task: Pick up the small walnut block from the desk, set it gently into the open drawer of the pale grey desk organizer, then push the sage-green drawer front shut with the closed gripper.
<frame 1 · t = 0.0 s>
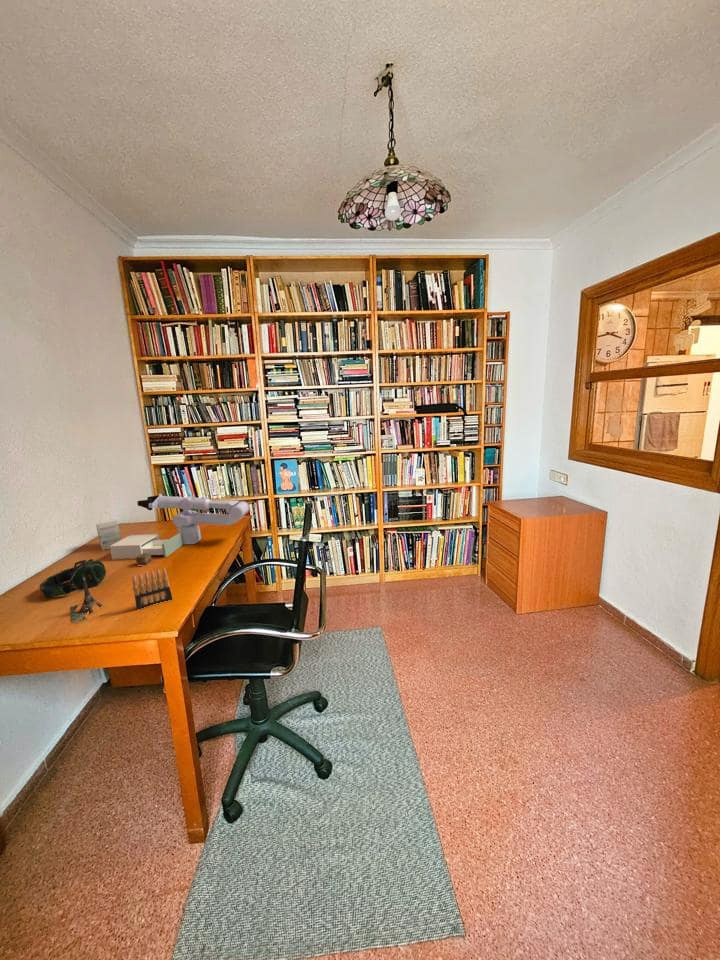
hand: (143, 501, 179), 22 cm above the table, tool horizontal, fingers open, 7 cm apart
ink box: (111, 546, 183), on the table
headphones: (76, 588, 140), on the table
drawer: (159, 545, 170), point 3 cm above the table, slide at 10.0 cm
organizer: (137, 552, 172), on the table
ammunition clip: (155, 604, 125), on the table
eiffel tower figurine: (89, 612, 123), on the table
walnut block: (144, 564, 158), on the table
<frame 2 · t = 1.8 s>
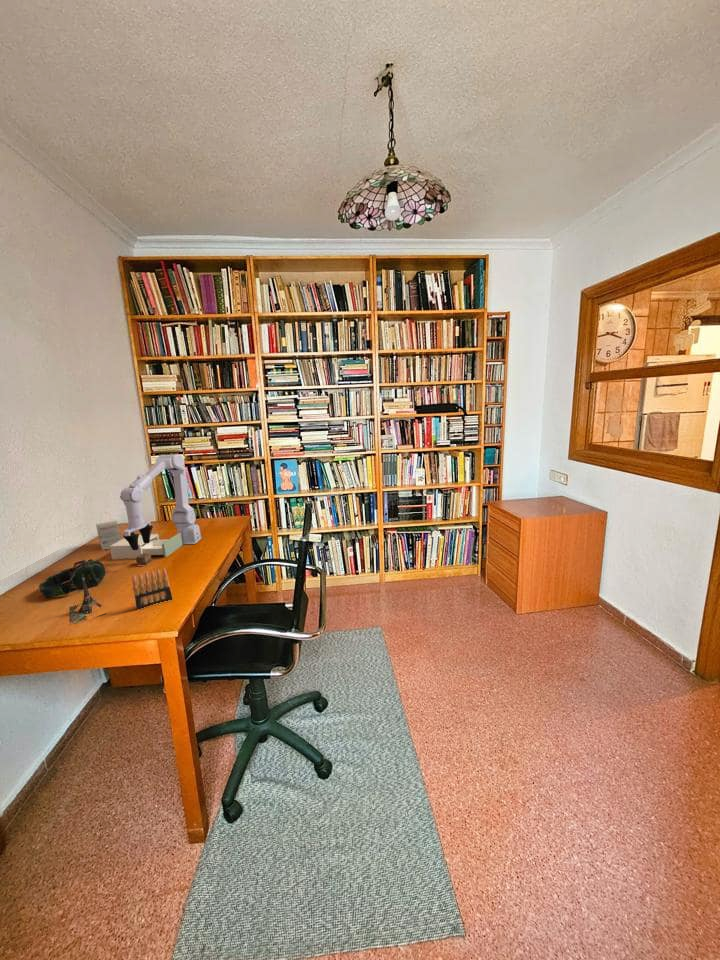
hand: (141, 546, 157), 8 cm above the table, tool pointing down, fingers open, 7 cm apart
nothing on the table moved.
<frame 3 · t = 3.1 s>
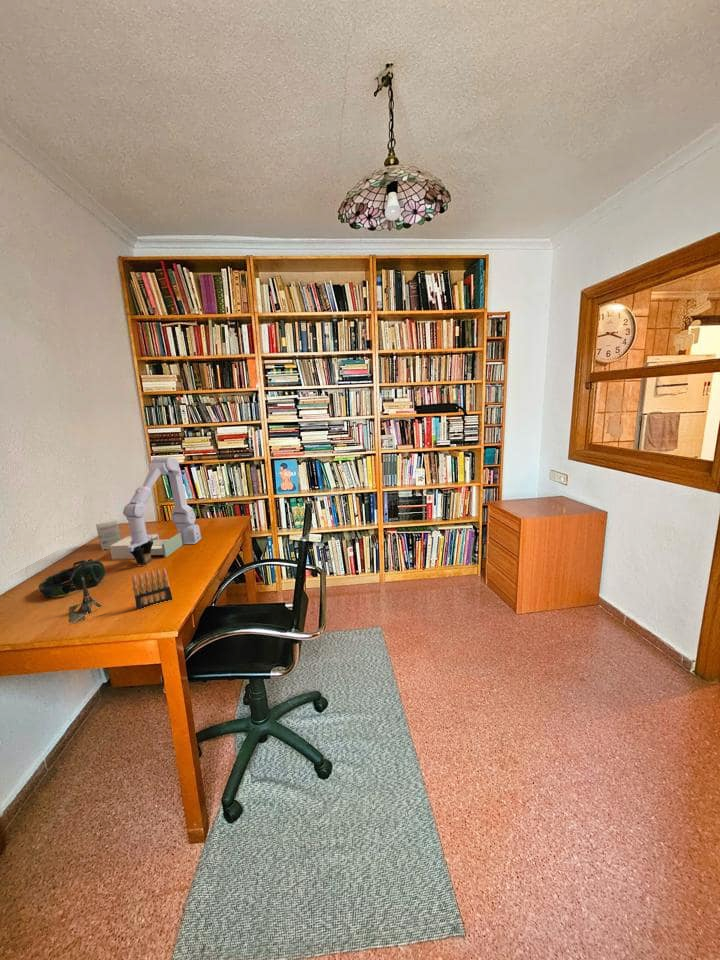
hand: (144, 560, 158), 1 cm above the table, tool pointing down, fingers closed on walnut block, 4 cm apart
walnut block: (144, 564, 158), on the table, touching gripper
everything else where it was.
when the fingers open (4 cm above the table, at t = 6.3 s): walnut block drops 2 cm, resting on drawer.
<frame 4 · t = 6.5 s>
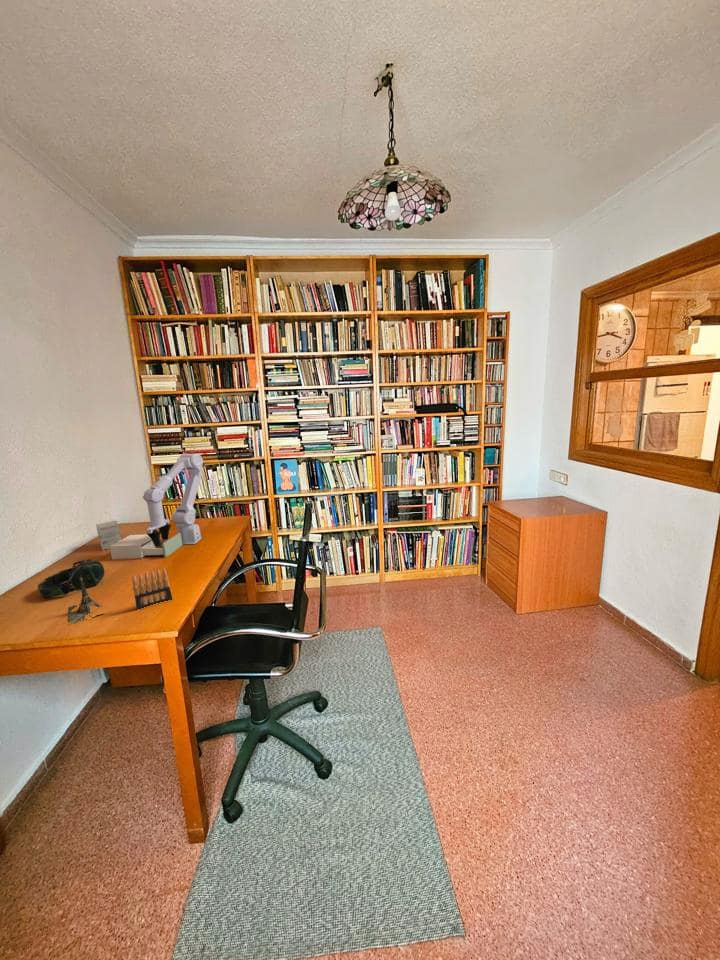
hand: (161, 542, 170), 4 cm above the table, tool pointing down, fingers open, 6 cm apart
drawer: (159, 545, 170), point 3 cm above the table, slide at 10.0 cm, touching walnut block
walnut block: (162, 549, 171), point 1 cm above the table, touching drawer
everything else where it was.
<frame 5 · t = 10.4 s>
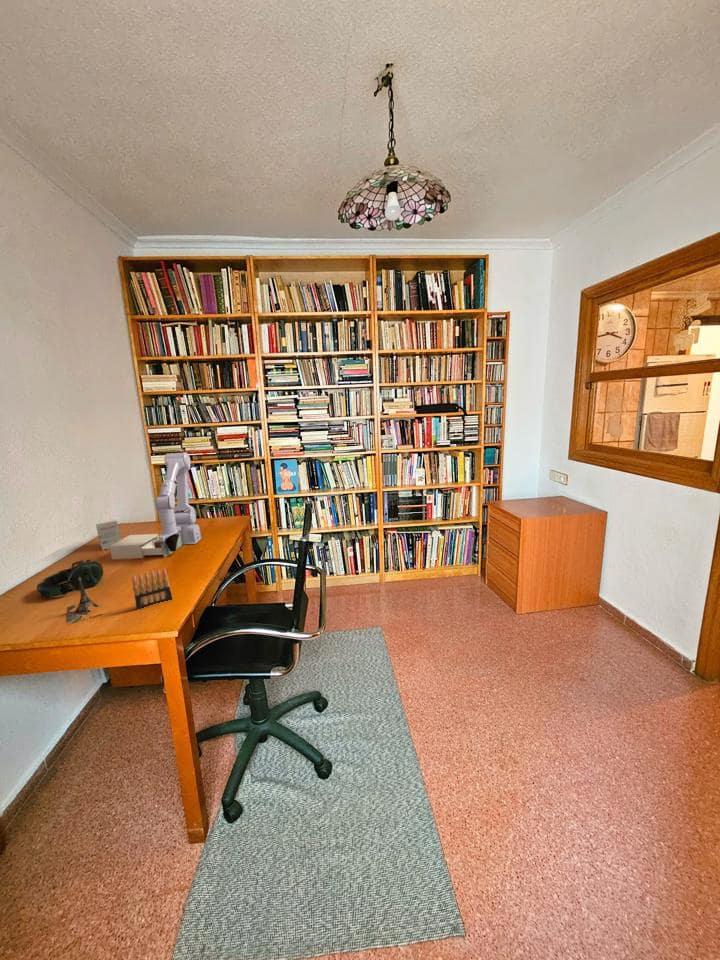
hand: (173, 550, 166), 2 cm above the table, tool pointing down, fingers closed, pressing on drawer
drawer: (158, 545, 170), point 3 cm above the table, slide at 9.7 cm, touching gripper, walnut block
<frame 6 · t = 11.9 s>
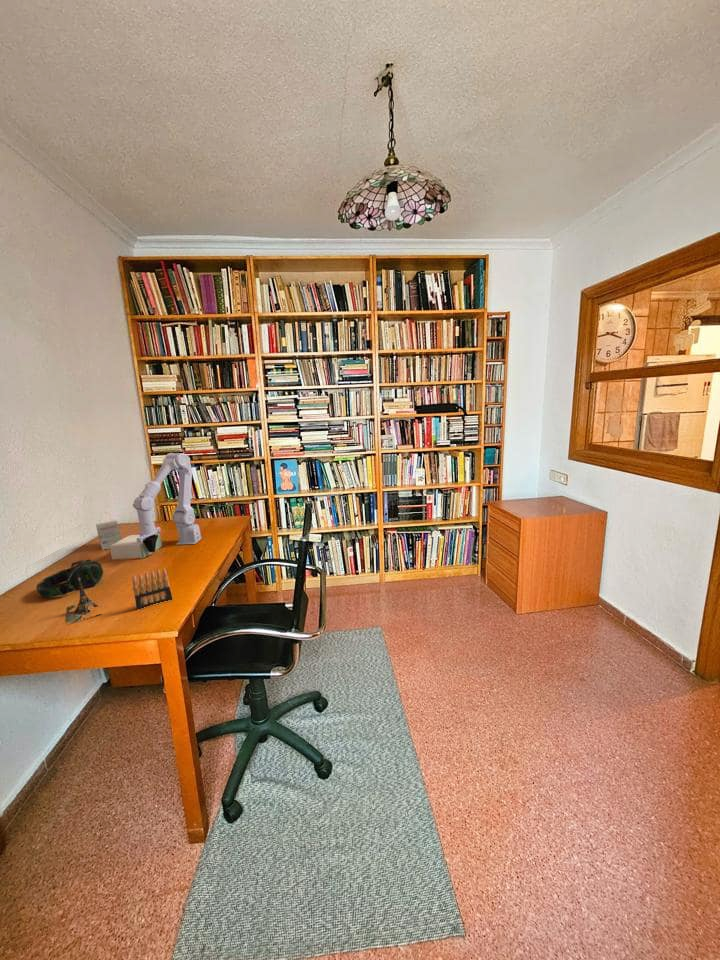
hand: (152, 551, 167), 2 cm above the table, tool pointing down, fingers closed, pressing on drawer
drawer: (138, 546, 171), point 3 cm above the table, slide at -0.1 cm, touching gripper, organizer, walnut block
walnut block: (142, 549, 171), point 1 cm above the table, touching drawer
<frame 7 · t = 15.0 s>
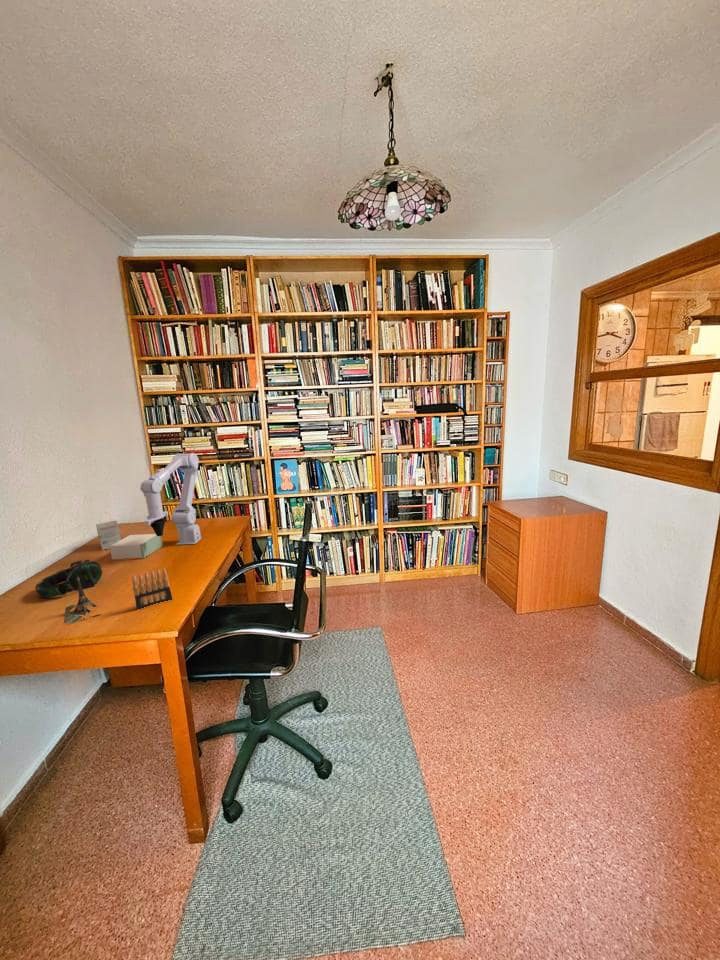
hand: (159, 535, 165), 9 cm above the table, tool pointing down, fingers closed
drawer: (138, 546, 171), point 3 cm above the table, slide at 0.0 cm, touching walnut block
at the end: drawer slide at 0.0 cm; walnut block inside the target area on the organizer (2.6 cm from its centre), point 1.3 cm above the organizer's base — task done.
